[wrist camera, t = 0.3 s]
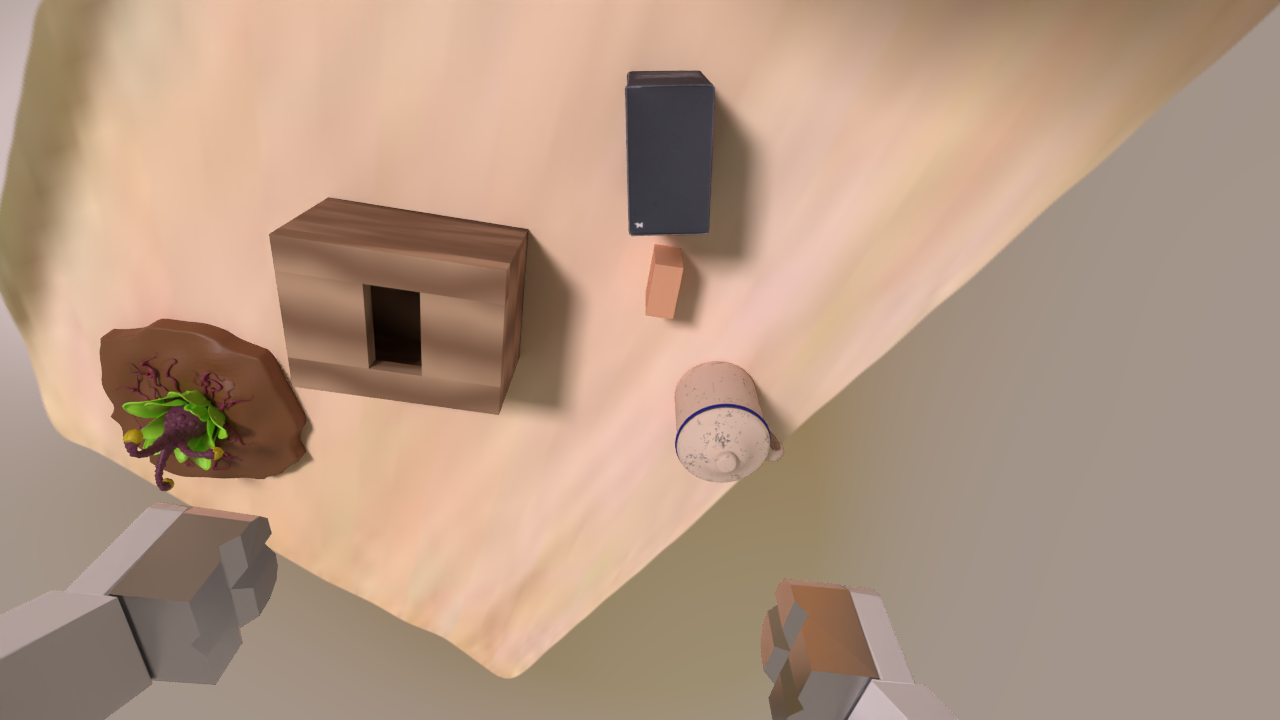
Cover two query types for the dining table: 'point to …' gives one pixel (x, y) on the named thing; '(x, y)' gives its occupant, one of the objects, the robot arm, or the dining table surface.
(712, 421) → the teacup with lid
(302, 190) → the dining table surface
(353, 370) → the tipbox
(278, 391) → the plant
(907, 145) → the dining table surface
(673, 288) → the orange block
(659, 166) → the small box
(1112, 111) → the dining table surface
